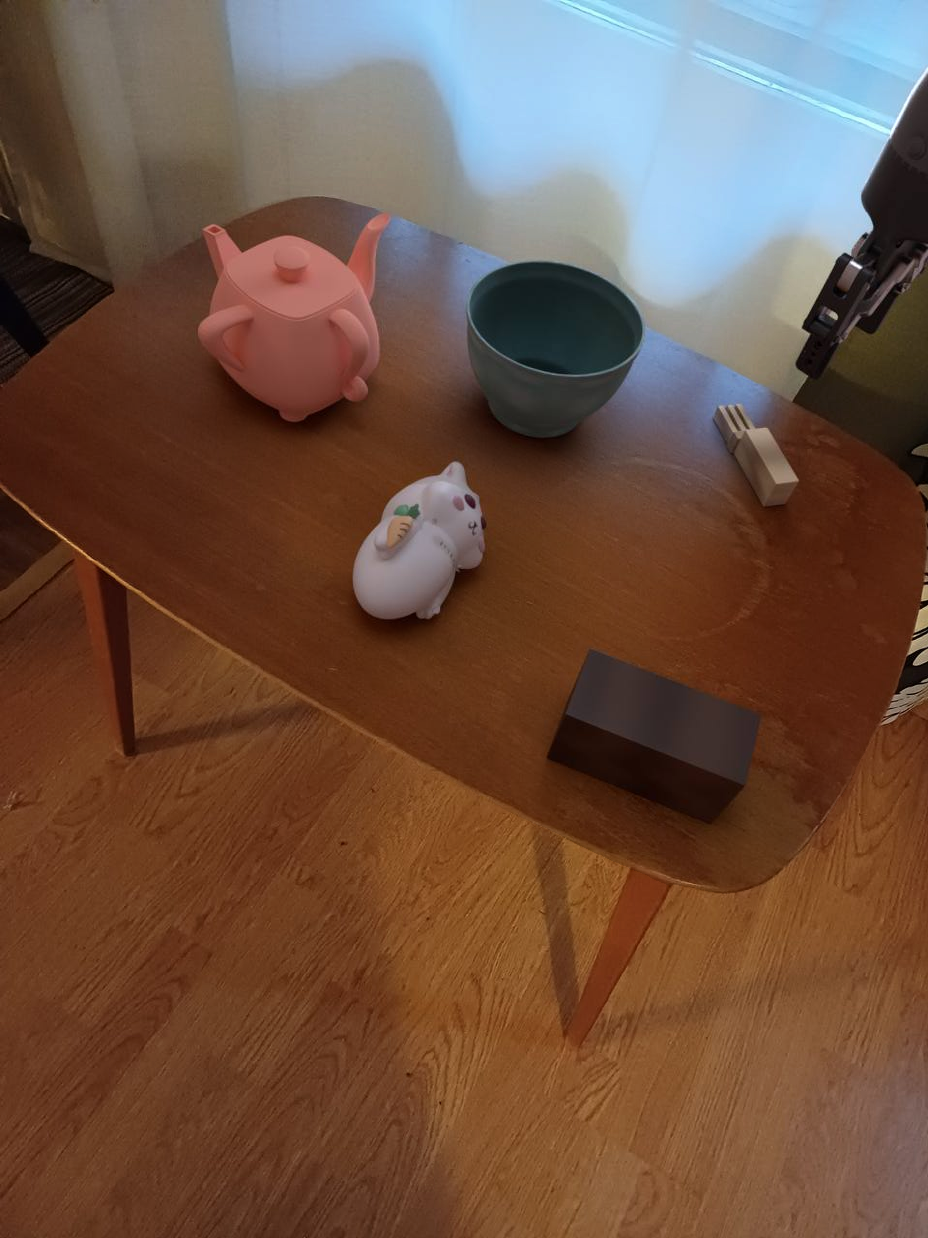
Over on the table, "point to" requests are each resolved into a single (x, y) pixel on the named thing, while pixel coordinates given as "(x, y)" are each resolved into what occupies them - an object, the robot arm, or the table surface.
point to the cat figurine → (420, 547)
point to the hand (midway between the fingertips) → (836, 349)
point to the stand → (655, 737)
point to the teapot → (294, 319)
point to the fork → (757, 455)
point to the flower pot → (550, 343)
